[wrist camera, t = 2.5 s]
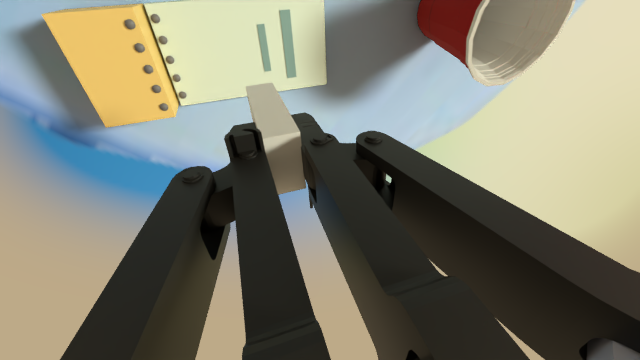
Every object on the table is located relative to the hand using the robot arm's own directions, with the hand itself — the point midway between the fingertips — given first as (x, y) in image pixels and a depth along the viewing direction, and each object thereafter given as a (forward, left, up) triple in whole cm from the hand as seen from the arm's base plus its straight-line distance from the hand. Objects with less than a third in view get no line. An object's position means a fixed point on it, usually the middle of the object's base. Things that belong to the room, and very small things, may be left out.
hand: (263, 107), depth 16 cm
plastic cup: (-2, +23, -17) cm, 29 cm away
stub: (0, -11, -17) cm, 20 cm away
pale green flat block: (0, +1, -17) cm, 17 cm away
